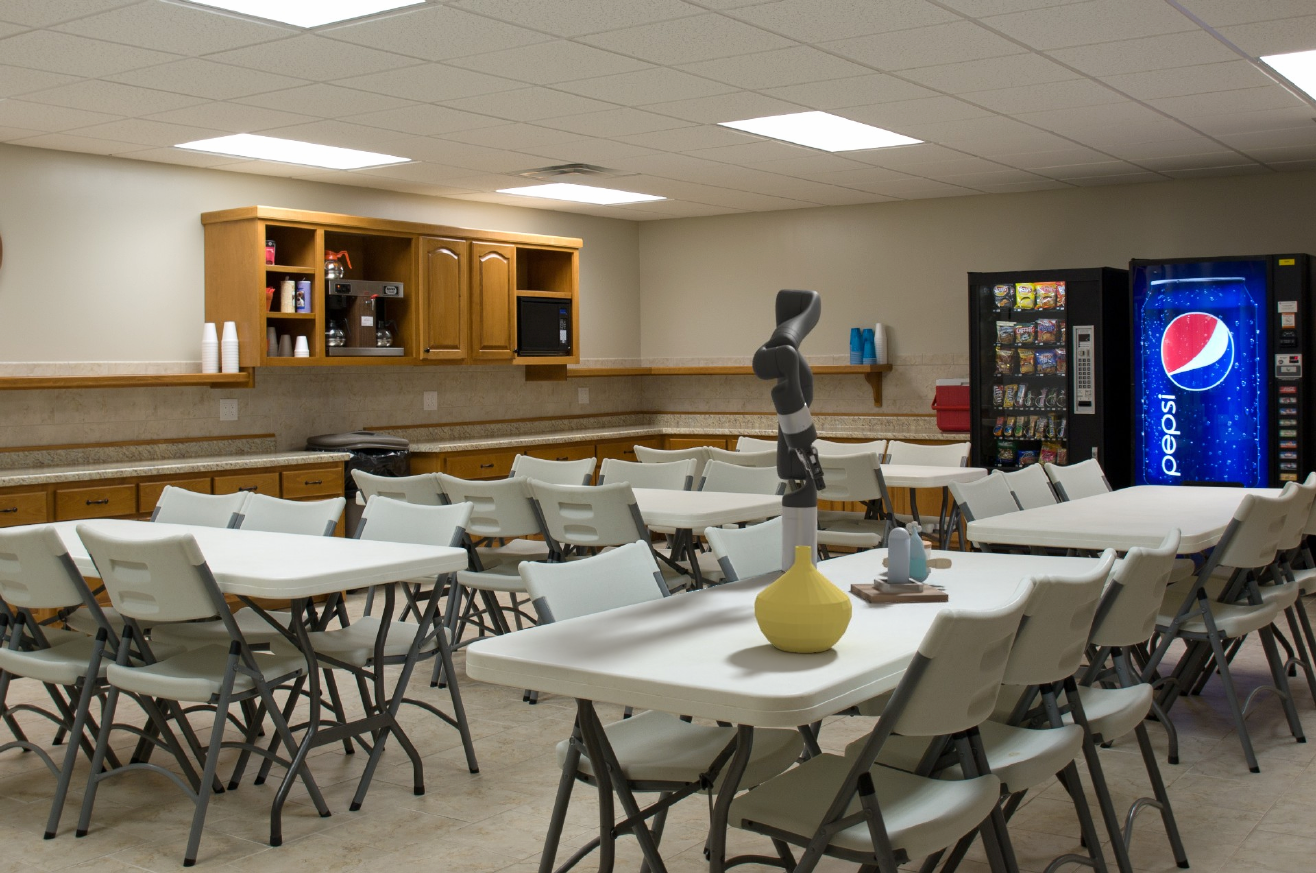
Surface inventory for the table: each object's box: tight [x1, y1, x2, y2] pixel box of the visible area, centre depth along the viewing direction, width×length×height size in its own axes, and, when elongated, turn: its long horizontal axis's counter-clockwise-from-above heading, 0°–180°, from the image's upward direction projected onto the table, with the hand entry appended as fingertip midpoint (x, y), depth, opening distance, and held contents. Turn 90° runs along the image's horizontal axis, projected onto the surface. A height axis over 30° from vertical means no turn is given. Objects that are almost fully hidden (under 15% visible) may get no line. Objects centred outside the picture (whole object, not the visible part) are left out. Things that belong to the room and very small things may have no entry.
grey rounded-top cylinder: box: [886, 527, 911, 584], centre depth 291 cm, size 5×5×14 cm
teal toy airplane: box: [881, 521, 953, 583], centre depth 309 cm, size 17×10×15 cm, turn 84°
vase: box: [753, 546, 853, 654], centre depth 235 cm, size 18×18×19 cm
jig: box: [850, 578, 949, 604], centre depth 291 cm, size 17×18×3 cm
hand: (816, 481), depth 298 cm, fingers open, 8 cm apart
